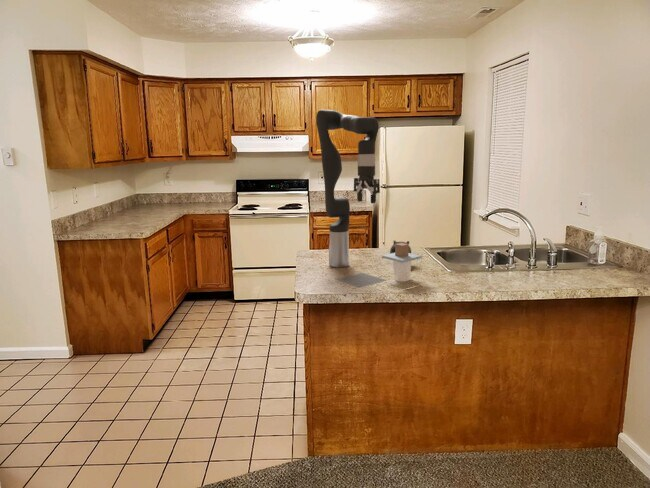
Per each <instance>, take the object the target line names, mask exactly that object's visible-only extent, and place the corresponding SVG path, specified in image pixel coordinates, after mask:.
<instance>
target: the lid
mask: <svg viewBox="0 0 650 488" xmlns="http://www.w3.org/2000/svg"><path fill="white" fill-rule="evenodd" d="M405 243H406V242H405ZM405 243H399V244H395V253H391V254H390V253H386V254H382V255H381V258H383V259H387V260H389V261H392V262H393V261H397V262H401V263H403V262H408V261H411V262H412V261H415V260H420V259H422V258H423V256H422V255H419V254H416V253H415V254H414V253H412V252H411V253H408V252H409V246H410V243H409V244H405Z"/></svg>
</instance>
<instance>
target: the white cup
mask: <svg viewBox="0 0 650 488" xmlns="http://www.w3.org/2000/svg"><path fill="white" fill-rule="evenodd" d="M411 268H412V261H408V262H403V263H401V262H397V261H393V260H392V269H393V270H392V271H393V280H394V281H396V282H409V281H410V279H411V272H412V271H411V270H412V269H411Z"/></svg>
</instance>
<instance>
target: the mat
mask: <svg viewBox="0 0 650 488" xmlns="http://www.w3.org/2000/svg"><path fill="white" fill-rule="evenodd" d="M335 281H339V282H341V283H345V284H348V285H351V286H354V287H355V288H362V287H366V286H370V285H374V284H378V283H382V282H385V281H387V279H385V278H381V277H377V276H374V275H371V274H367V273H364V272H360V273H355V274H352V275H347V276H343V277H338V278H335Z"/></svg>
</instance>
